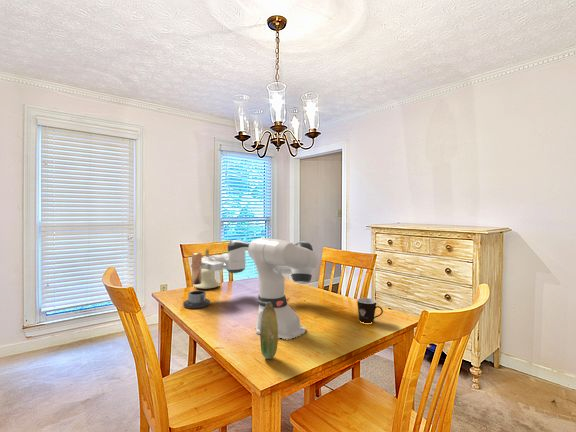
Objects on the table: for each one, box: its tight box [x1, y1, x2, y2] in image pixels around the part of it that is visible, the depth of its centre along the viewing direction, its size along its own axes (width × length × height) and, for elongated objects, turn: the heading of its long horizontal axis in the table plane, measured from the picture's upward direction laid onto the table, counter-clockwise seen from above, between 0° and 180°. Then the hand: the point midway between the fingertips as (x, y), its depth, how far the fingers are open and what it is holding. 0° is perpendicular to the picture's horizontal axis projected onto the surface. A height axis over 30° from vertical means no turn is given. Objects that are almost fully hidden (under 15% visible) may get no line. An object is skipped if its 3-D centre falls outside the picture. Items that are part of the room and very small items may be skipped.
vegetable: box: [259, 302, 279, 360], centre depth 109 cm, size 6×6×20 cm
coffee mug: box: [356, 297, 384, 323], centre depth 144 cm, size 12×9×10 cm
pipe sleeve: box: [182, 290, 211, 310], centre depth 168 cm, size 14×14×6 cm
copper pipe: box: [191, 252, 203, 286], centre depth 167 cm, size 5×5×16 cm
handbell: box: [194, 248, 220, 289], centre depth 203 cm, size 15×15×25 cm
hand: (195, 266), depth 167 cm, fingers closed on copper pipe, 5 cm apart
